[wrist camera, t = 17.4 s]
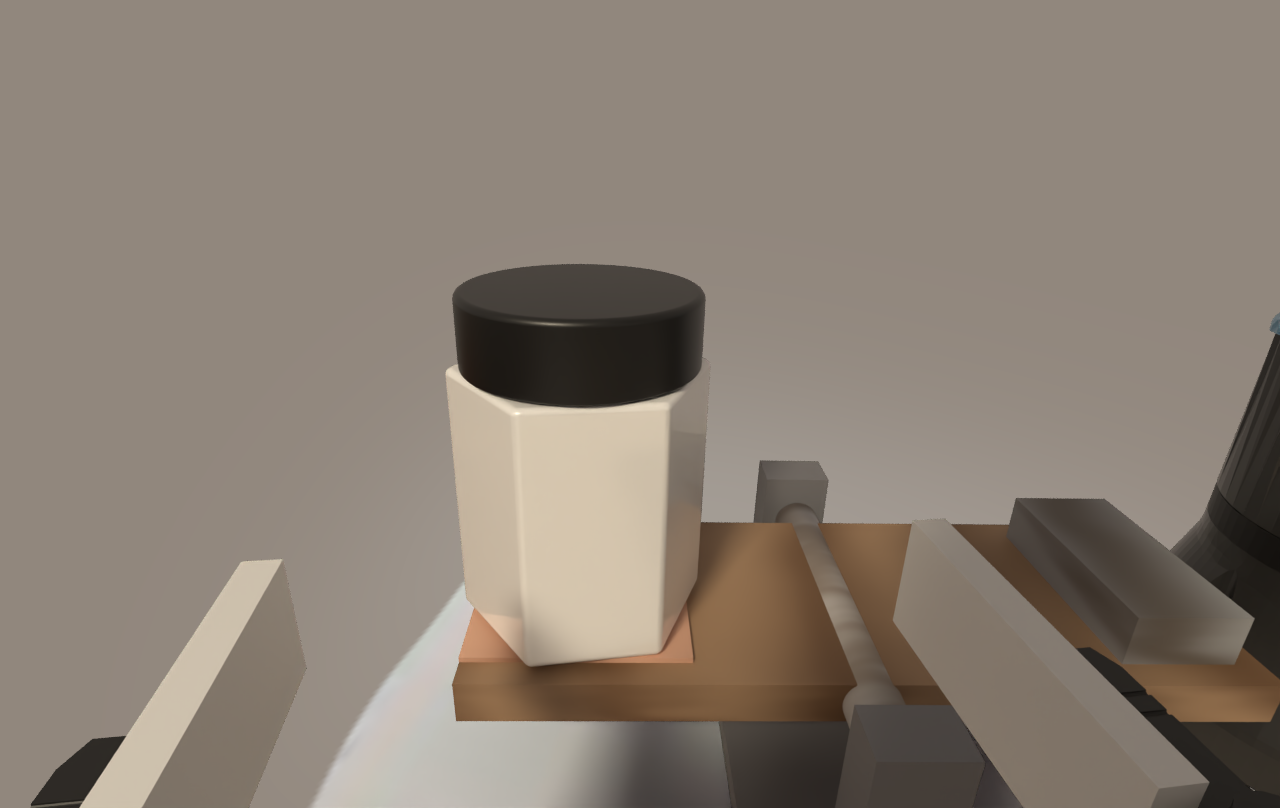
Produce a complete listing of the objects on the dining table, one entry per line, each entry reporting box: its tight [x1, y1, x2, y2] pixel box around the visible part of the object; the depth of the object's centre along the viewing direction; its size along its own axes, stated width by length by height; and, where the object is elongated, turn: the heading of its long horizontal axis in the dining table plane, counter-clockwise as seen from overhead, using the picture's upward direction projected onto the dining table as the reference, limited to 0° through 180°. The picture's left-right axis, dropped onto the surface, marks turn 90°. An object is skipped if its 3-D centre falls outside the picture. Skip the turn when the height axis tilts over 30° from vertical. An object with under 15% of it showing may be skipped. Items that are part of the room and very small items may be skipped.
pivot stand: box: [719, 461, 986, 808], centre depth 29 cm, size 8×18×9 cm, turn 1°
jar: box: [446, 264, 710, 667], centre depth 25 cm, size 9×8×12 cm
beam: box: [452, 498, 1280, 729], centre depth 28 cm, size 28×13×4 cm, turn 91°
